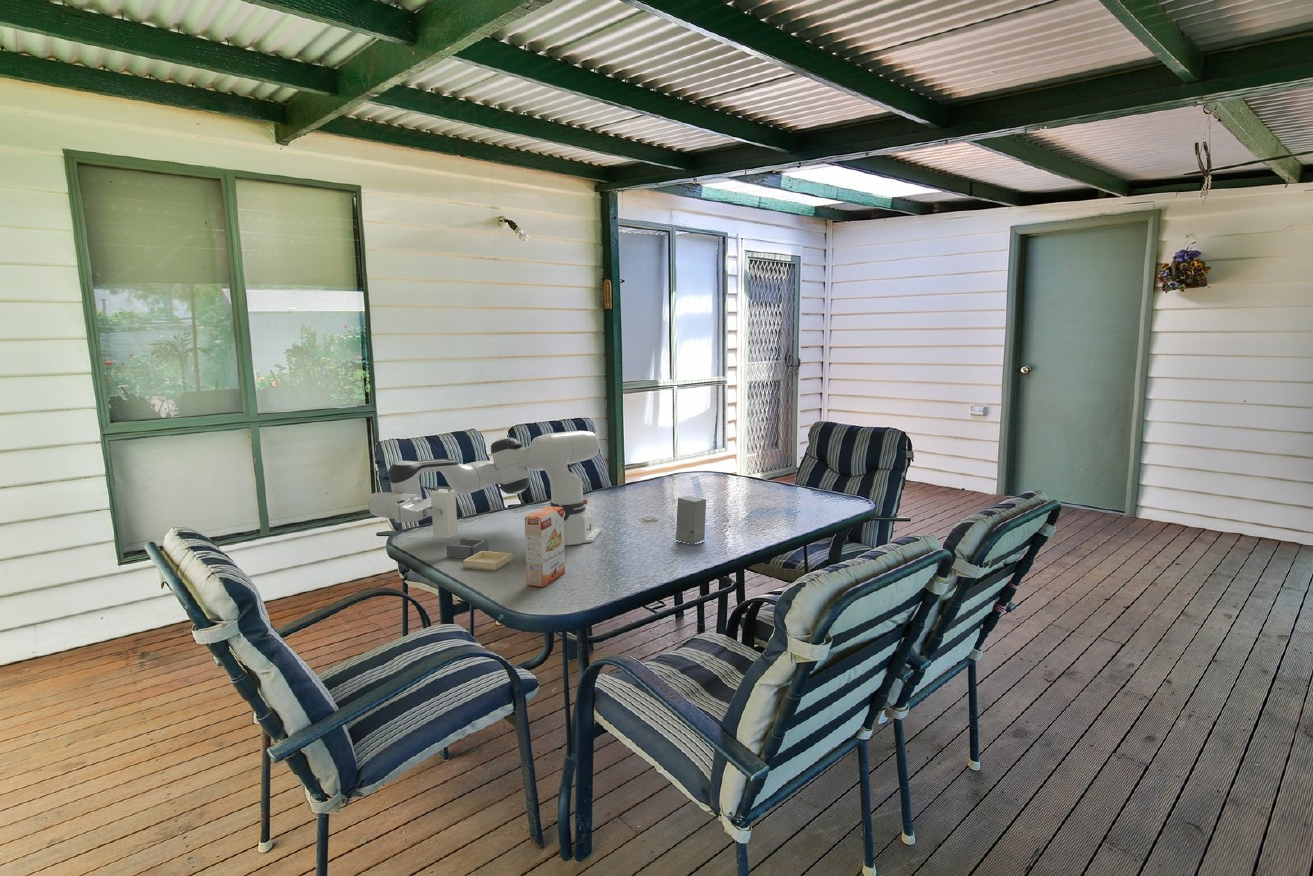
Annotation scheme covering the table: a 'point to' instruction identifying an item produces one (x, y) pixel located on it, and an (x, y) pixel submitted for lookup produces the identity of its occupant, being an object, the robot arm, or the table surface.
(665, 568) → the table surface
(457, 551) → the dock
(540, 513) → the cracker box
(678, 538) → the skincare box
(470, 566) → the tray
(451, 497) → the white tall block
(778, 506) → the table surface
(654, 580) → the table surface
